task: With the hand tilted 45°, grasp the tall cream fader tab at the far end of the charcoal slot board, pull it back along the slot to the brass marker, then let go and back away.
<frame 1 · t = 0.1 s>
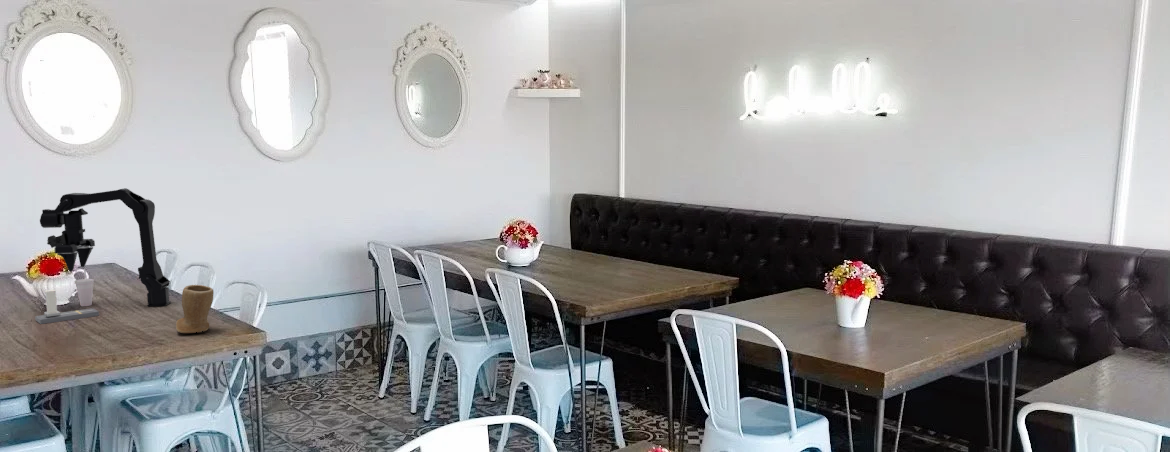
hand: (77, 268, 319), 15 cm above the table, tool pointing down, fingers open, 9 cm apart
fader board: (67, 317, 303), on the table
tan boot: (196, 330, 282), on the table
fader: (51, 302, 299), point 6 cm above the table, slide at 11.0 cm
smoothie: (86, 305, 324), on the table
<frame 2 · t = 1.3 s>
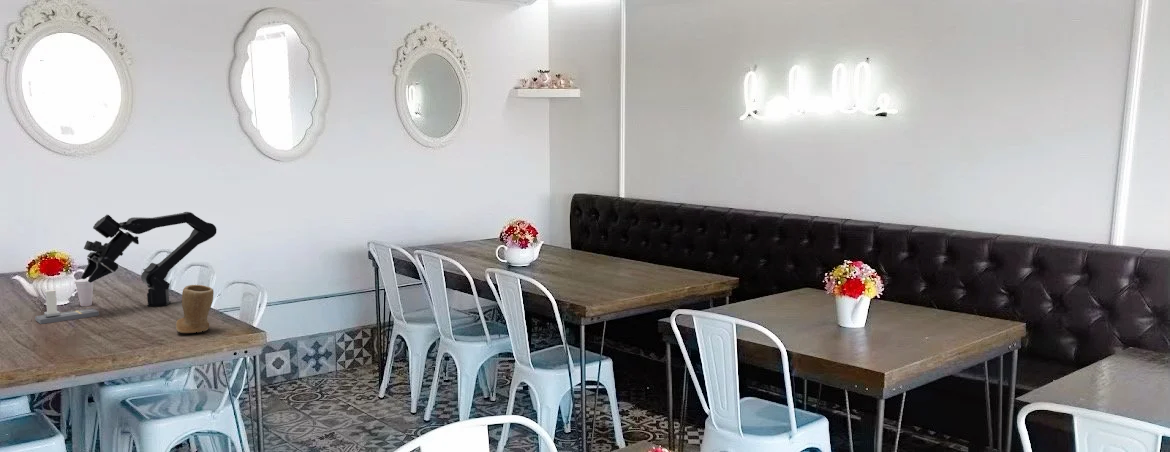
hand: (85, 280, 306), 13 cm above the table, tool tilted 45°, fingers open, 9 cm apart
nothing on the table moved.
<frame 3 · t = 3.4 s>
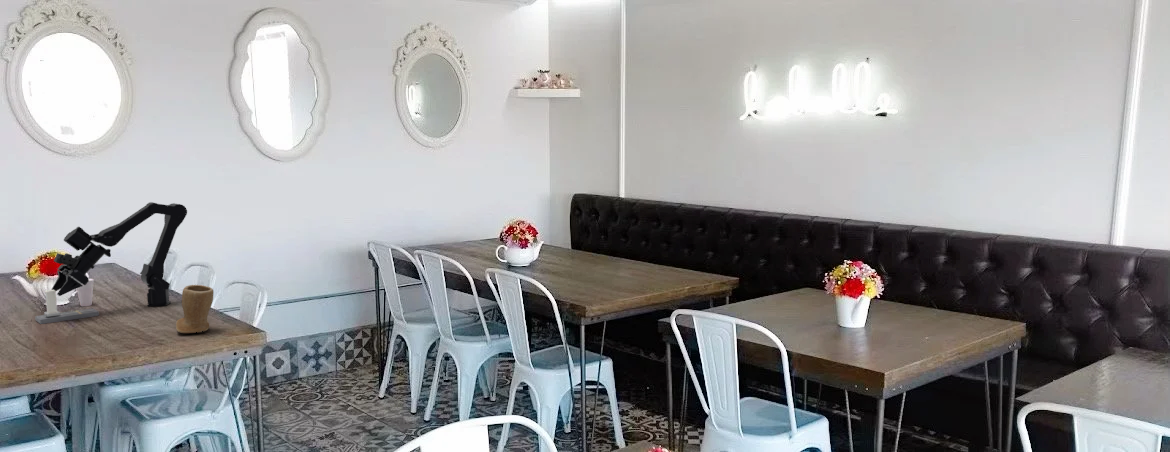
hand: (55, 293, 300), 9 cm above the table, tool tilted 45°, fingers open, 9 cm apart
nothing on the table moved.
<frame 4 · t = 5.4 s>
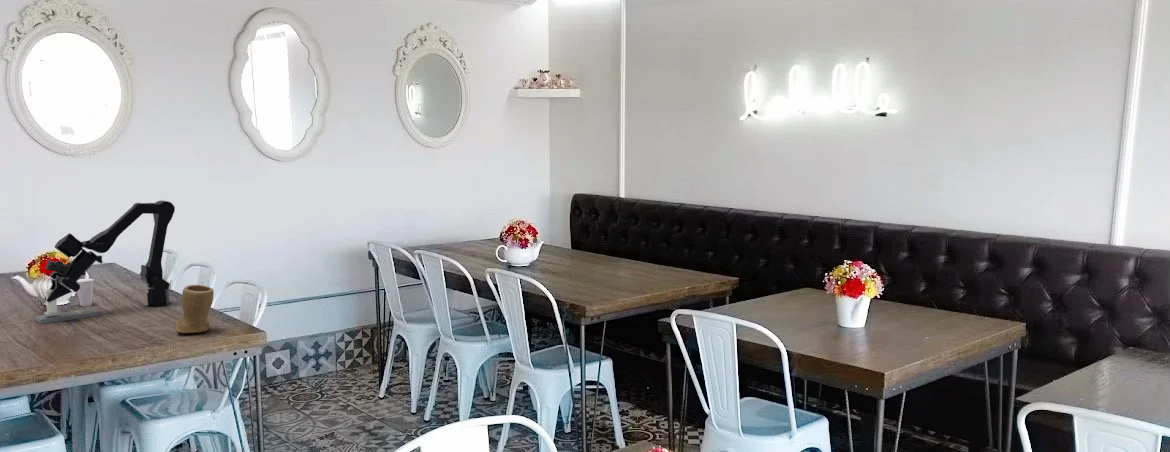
hand: (46, 300, 298), 7 cm above the table, tool tilted 45°, fingers closed on fader, 3 cm apart
fader: (51, 302, 299), point 6 cm above the table, slide at 11.0 cm, touching gripper
everything else where it was.
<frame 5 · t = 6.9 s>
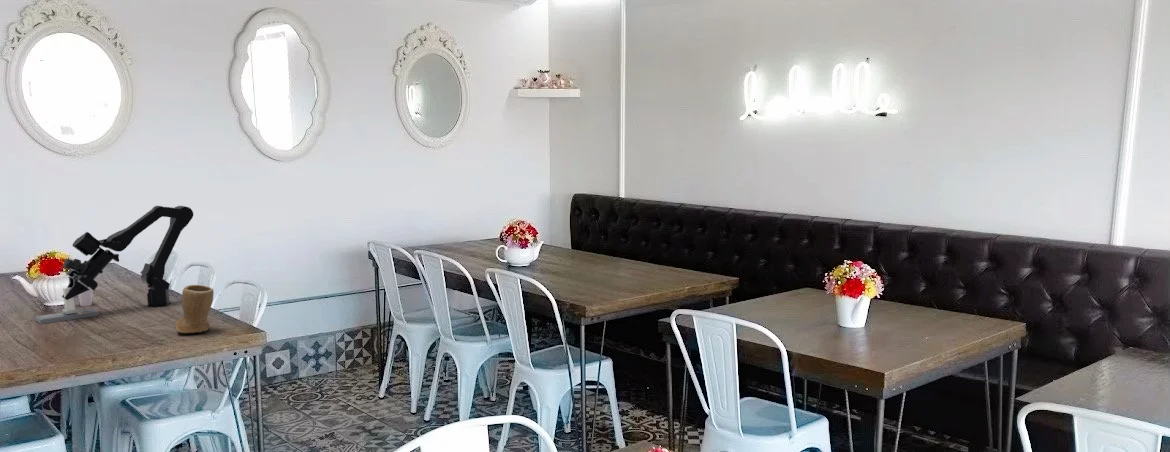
hand: (64, 298, 302), 7 cm above the table, tool tilted 45°, fingers closed on fader, 3 cm apart
fader: (69, 300, 303), point 6 cm above the table, slide at 5.5 cm, touching gripper
everything else where it was.
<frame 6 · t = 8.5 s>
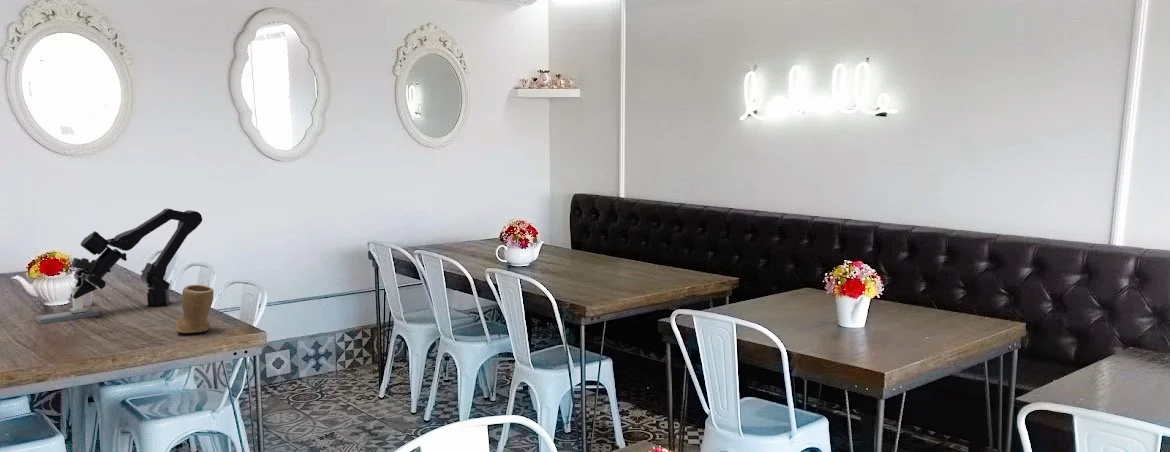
hand: (72, 297, 303), 7 cm above the table, tool tilted 45°, fingers open, 3 cm apart
fader: (77, 299, 304), point 6 cm above the table, slide at 3.0 cm
everything else where it was.
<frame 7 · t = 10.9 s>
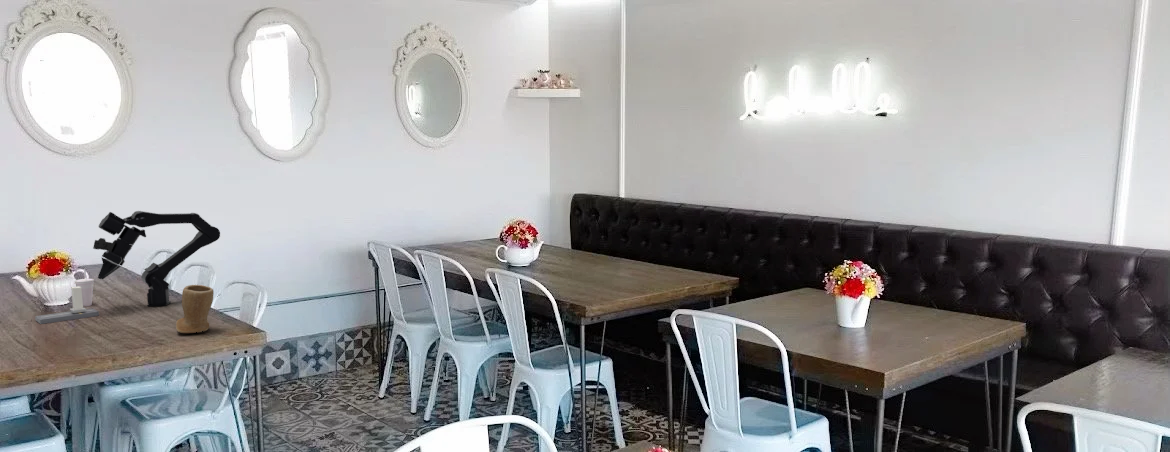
hand: (100, 278, 310), 12 cm above the table, tool tilted 35°, fingers open, 9 cm apart
nothing on the table moved.
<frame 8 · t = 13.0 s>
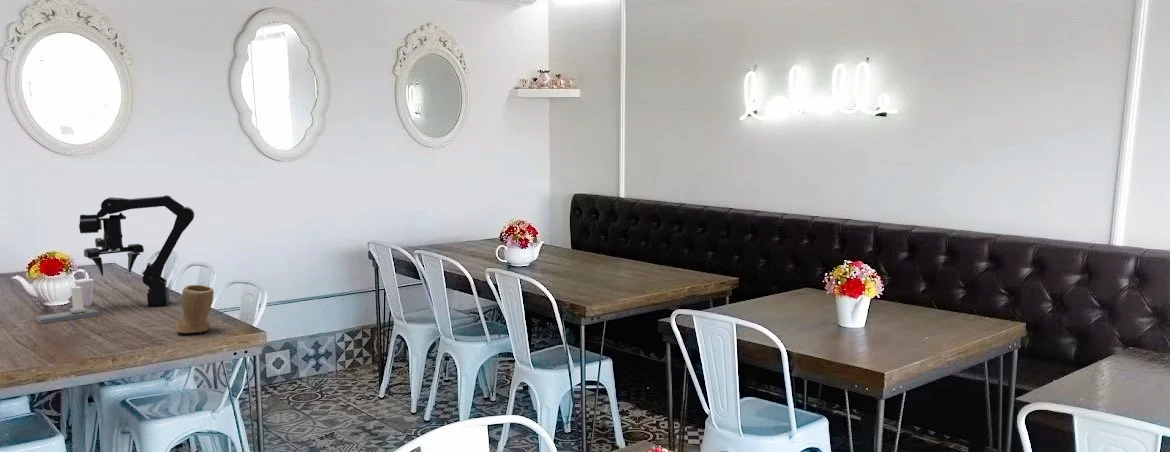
hand: (115, 273, 317), 13 cm above the table, tool pointing down, fingers open, 9 cm apart
nothing on the table moved.
at the end: fader slide at 3.0 cm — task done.
